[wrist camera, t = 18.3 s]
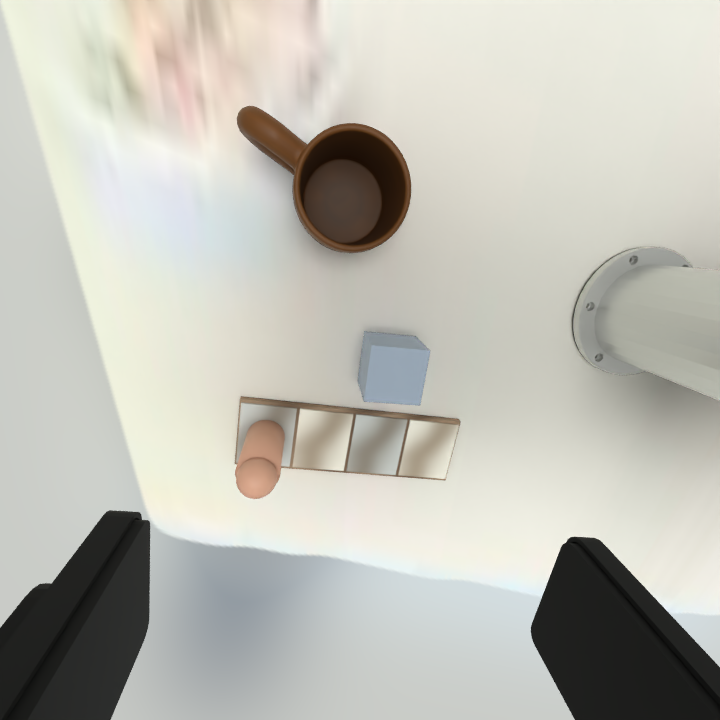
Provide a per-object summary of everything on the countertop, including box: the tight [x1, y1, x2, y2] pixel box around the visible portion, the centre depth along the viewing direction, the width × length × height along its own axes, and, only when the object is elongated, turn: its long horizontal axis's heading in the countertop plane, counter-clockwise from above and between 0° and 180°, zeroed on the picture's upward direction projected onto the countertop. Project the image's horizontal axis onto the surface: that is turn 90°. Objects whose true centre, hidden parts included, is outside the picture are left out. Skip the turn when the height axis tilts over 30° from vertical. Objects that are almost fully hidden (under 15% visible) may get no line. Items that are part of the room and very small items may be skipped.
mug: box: [237, 106, 411, 253], centre depth 28 cm, size 12×8×9 cm, turn 57°
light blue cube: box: [358, 331, 430, 405], centre depth 35 cm, size 5×5×5 cm
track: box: [235, 397, 460, 480], centre depth 39 cm, size 22×7×1 cm, turn 81°
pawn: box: [235, 420, 285, 499], centre depth 34 cm, size 4×4×8 cm
